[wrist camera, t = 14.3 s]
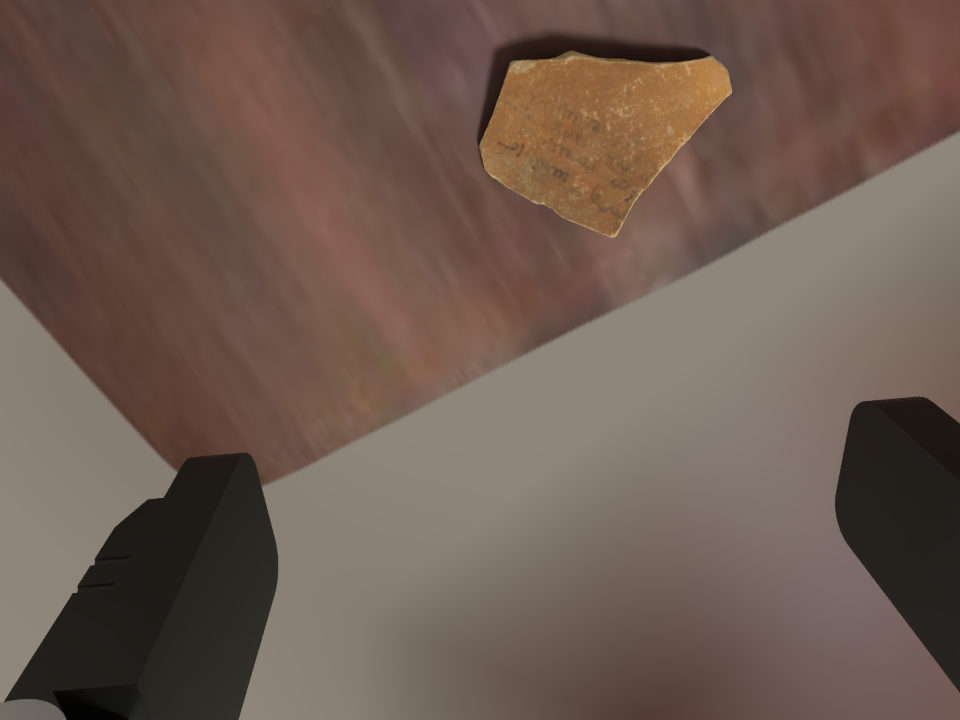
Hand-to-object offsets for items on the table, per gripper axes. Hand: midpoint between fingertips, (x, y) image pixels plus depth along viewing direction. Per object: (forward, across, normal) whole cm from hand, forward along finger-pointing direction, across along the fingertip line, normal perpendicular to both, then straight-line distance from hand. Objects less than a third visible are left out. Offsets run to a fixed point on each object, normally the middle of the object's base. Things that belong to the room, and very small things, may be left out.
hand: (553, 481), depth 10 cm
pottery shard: (+29, -6, -1) cm, 29 cm away
